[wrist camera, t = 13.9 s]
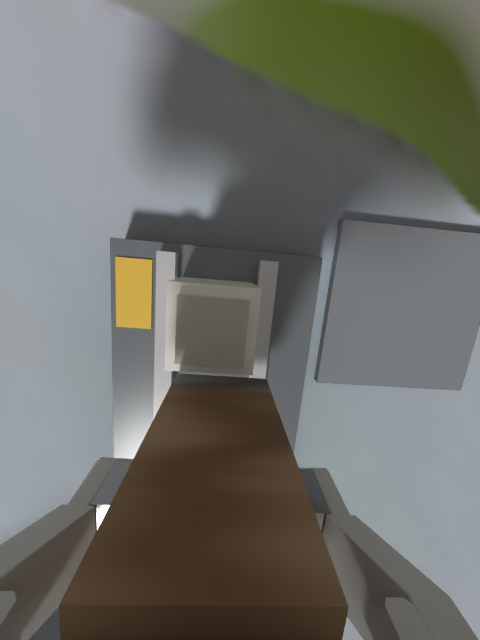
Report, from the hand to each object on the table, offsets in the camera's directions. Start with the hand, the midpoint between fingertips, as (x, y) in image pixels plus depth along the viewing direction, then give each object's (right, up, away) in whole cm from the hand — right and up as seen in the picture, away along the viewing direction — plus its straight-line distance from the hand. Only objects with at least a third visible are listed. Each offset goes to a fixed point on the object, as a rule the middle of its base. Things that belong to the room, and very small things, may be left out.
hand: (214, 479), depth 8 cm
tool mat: (+12, +6, +10) cm, 17 cm away
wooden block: (0, +1, +4) cm, 4 cm away
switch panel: (-1, -1, +11) cm, 11 cm away
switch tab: (-1, +6, +7) cm, 9 cm away
